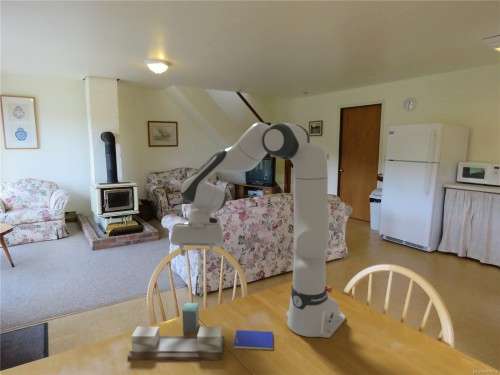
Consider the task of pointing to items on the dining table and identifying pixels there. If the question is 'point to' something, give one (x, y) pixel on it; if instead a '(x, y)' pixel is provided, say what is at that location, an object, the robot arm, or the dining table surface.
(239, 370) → the dining table surface
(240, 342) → the hard drive
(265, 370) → the dining table surface
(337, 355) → the dining table surface
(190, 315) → the block
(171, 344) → the board
